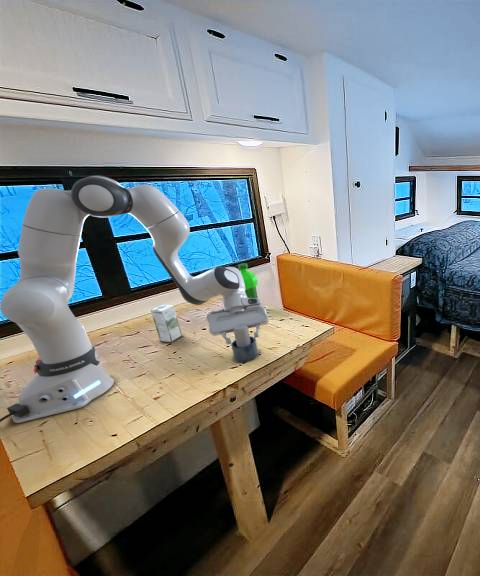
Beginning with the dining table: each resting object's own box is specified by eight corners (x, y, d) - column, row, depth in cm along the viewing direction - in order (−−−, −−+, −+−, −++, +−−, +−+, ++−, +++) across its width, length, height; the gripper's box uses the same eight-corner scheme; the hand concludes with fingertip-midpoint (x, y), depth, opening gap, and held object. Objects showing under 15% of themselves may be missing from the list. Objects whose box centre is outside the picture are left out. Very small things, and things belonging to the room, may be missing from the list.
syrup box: (171, 334, 132) (162, 304, 127) (183, 335, 131) (173, 305, 126) (160, 341, 127) (149, 309, 122) (171, 342, 126) (161, 310, 121)
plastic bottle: (266, 308, 156) (258, 261, 147) (255, 317, 146) (245, 267, 137) (249, 307, 157) (239, 261, 149) (236, 316, 148) (225, 267, 139)
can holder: (236, 364, 109) (233, 350, 107) (232, 354, 116) (229, 340, 114) (260, 357, 114) (258, 343, 112) (255, 347, 120) (252, 334, 118)
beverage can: (248, 358, 112) (241, 330, 108) (236, 357, 113) (229, 329, 109) (255, 351, 116) (250, 323, 112) (244, 350, 117) (238, 322, 113)
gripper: (204, 309, 110) (209, 345, 105) (263, 298, 118) (271, 331, 113) (207, 315, 115) (212, 350, 110) (264, 304, 124) (271, 336, 119)
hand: (243, 340), depth 112 cm, fingers open, 8 cm apart
